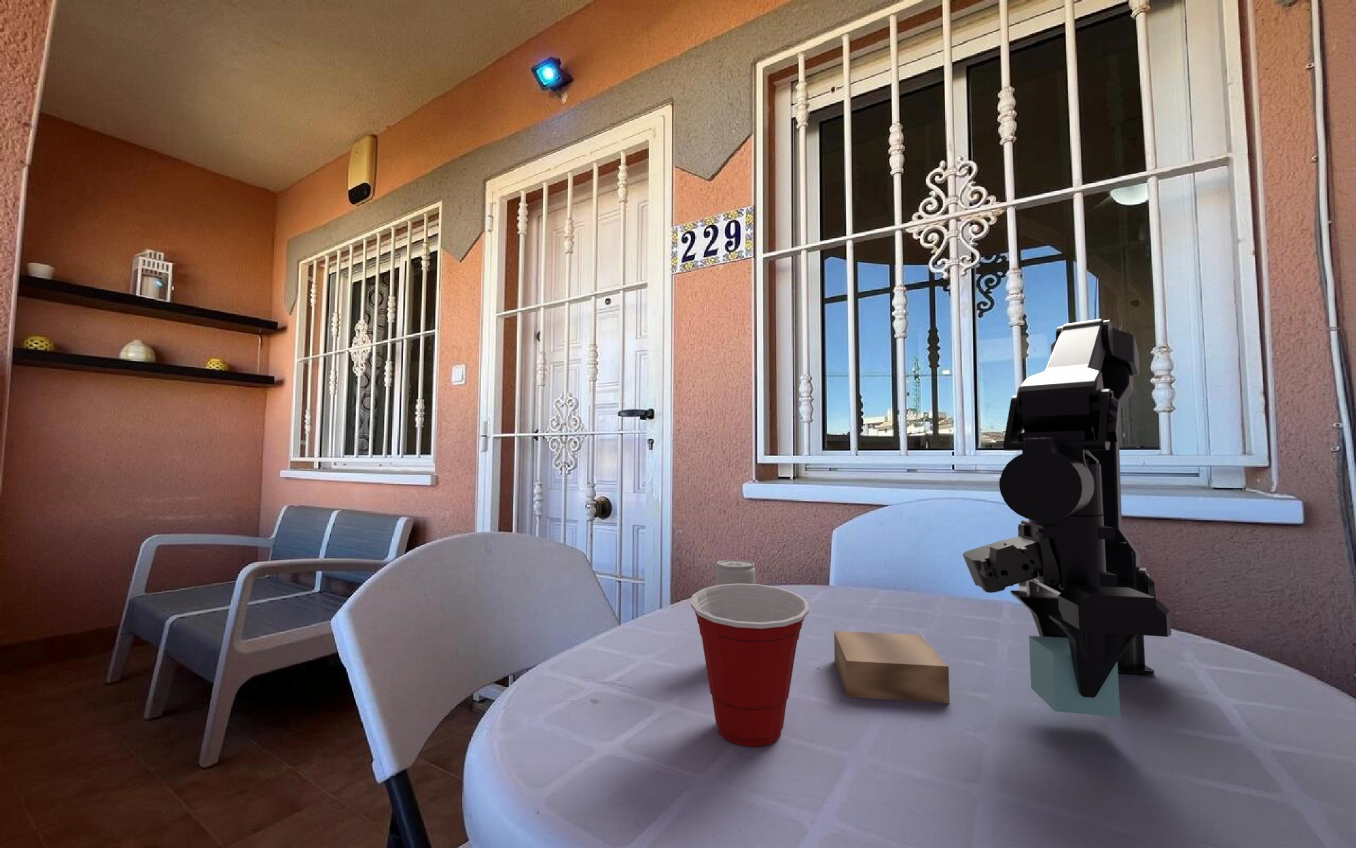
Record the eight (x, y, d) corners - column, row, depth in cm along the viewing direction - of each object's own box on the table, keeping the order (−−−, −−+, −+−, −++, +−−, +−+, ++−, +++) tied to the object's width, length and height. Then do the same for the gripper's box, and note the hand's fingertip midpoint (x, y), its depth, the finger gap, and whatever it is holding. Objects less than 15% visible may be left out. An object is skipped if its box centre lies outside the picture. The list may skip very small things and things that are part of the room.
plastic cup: (696, 768, 43) (696, 614, 44) (685, 706, 54) (685, 584, 55) (829, 763, 44) (826, 612, 45) (792, 703, 55) (790, 582, 56)
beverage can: (754, 673, 62) (754, 567, 63) (713, 670, 63) (712, 566, 64) (757, 658, 67) (756, 560, 68) (718, 655, 68) (718, 558, 69)
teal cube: (1089, 693, 52) (1087, 639, 52) (1120, 717, 47) (1117, 657, 47) (1031, 688, 53) (1029, 635, 53) (1055, 711, 48) (1052, 653, 48)
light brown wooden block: (921, 669, 65) (920, 635, 65) (949, 706, 55) (948, 666, 55) (834, 664, 66) (834, 631, 67) (847, 700, 56) (846, 660, 57)
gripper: (945, 503, 62) (949, 644, 61) (1007, 522, 44) (1015, 723, 43) (1055, 505, 59) (1061, 651, 58) (1170, 526, 41) (1182, 739, 40)
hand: (1072, 684), depth 50 cm, fingers closed on teal cube, 5 cm apart
